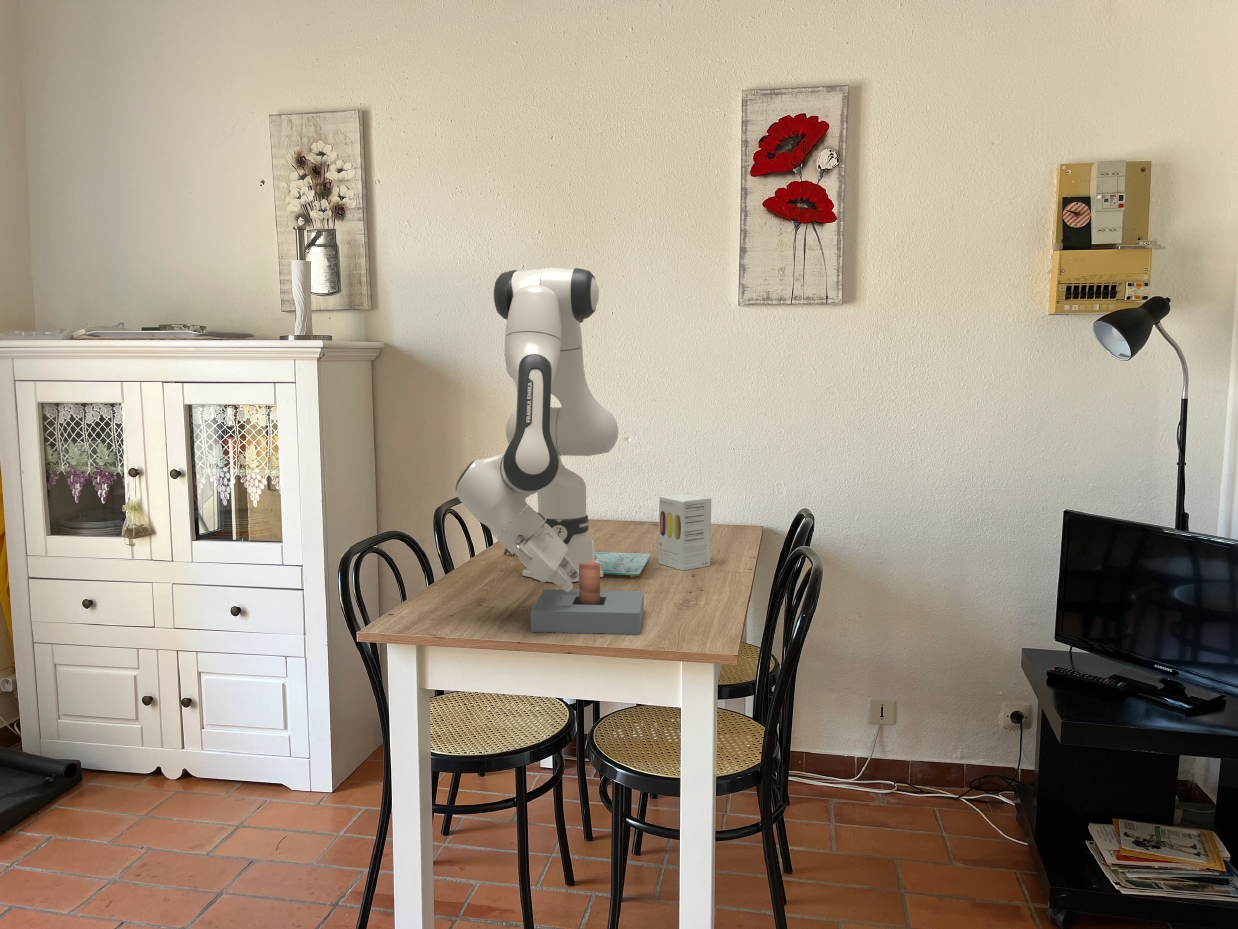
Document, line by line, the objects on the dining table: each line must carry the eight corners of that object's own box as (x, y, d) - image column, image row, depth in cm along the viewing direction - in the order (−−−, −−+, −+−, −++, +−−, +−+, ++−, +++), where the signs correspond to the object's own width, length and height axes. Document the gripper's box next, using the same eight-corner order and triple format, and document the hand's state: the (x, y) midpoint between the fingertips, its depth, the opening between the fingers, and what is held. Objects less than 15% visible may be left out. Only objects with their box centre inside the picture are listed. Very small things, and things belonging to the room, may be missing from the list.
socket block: (544, 608, 185) (544, 589, 185) (643, 610, 184) (643, 591, 183) (530, 632, 169) (530, 611, 169) (639, 634, 168) (639, 613, 168)
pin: (580, 612, 179) (580, 561, 178) (601, 612, 178) (600, 562, 177) (578, 618, 175) (577, 566, 174) (599, 618, 174) (599, 566, 173)
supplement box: (657, 563, 226) (657, 496, 224) (685, 559, 231) (686, 492, 230) (682, 571, 218) (683, 500, 216) (711, 565, 224) (712, 497, 222)
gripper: (525, 530, 165) (579, 585, 165) (542, 511, 185) (590, 560, 186) (500, 554, 166) (555, 608, 166) (520, 533, 186) (568, 581, 186)
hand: (574, 583), depth 176 cm, fingers open, 8 cm apart
